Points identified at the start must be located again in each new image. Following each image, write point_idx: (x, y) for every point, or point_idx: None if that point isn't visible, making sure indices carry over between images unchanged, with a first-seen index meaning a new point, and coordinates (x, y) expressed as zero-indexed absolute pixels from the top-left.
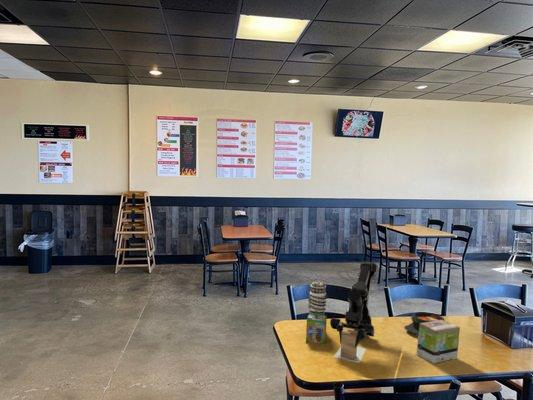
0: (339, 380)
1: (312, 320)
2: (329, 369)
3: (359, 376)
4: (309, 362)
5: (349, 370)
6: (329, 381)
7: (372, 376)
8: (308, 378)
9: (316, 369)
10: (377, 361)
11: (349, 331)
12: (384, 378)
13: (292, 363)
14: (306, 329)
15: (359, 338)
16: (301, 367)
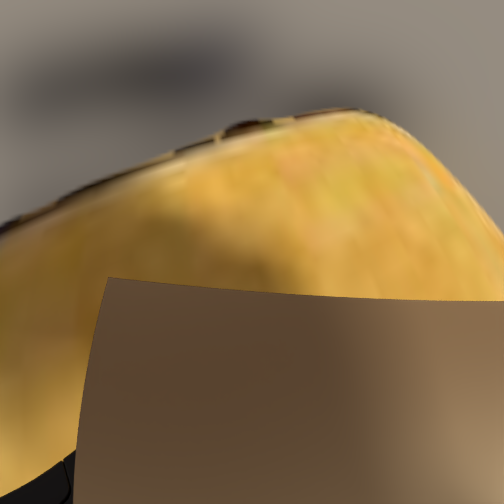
0: (247, 136)
1: None
2: (335, 215)
3: (139, 201)
4: (453, 253)
5: (208, 249)
6: (288, 121)
7: (60, 231)
8: (371, 125)
9: (390, 194)
10: (15, 480)
11: (435, 500)
12: (4, 236)
13: (485, 215)
14: None
15: (58, 469)
16: (445, 193)
